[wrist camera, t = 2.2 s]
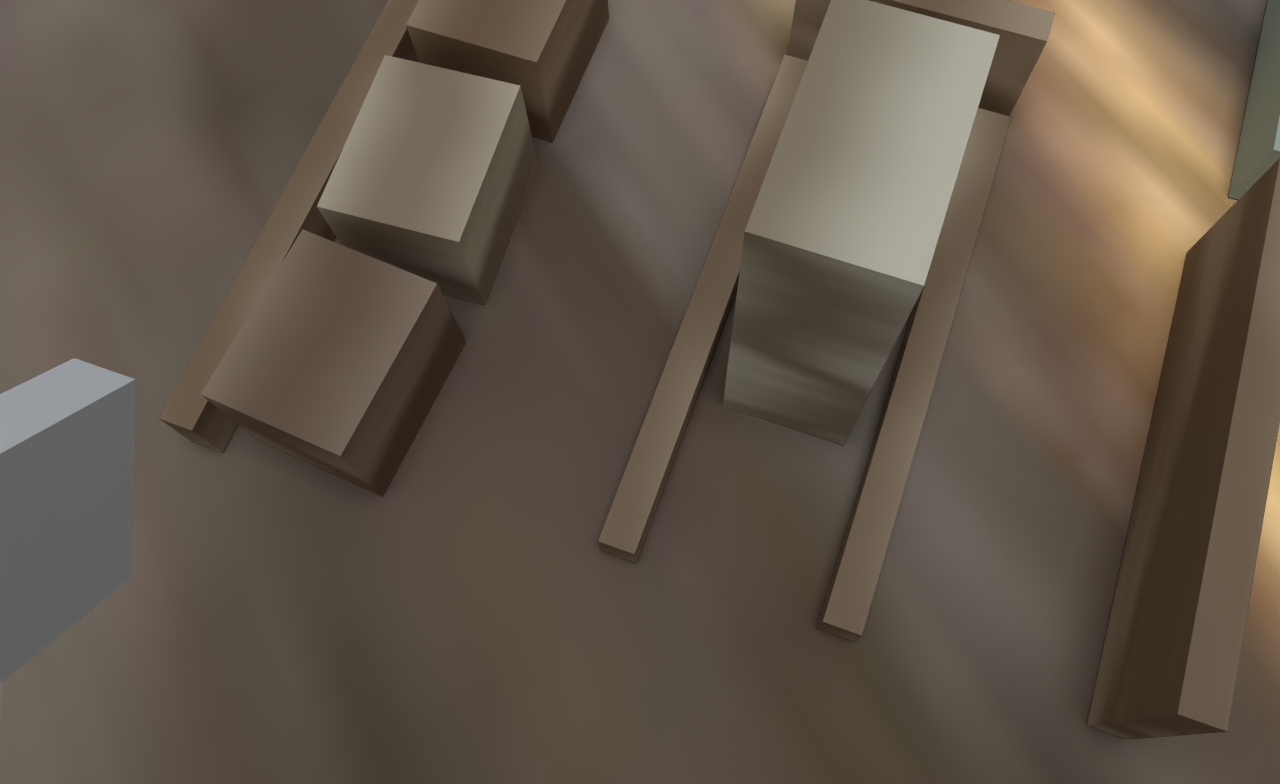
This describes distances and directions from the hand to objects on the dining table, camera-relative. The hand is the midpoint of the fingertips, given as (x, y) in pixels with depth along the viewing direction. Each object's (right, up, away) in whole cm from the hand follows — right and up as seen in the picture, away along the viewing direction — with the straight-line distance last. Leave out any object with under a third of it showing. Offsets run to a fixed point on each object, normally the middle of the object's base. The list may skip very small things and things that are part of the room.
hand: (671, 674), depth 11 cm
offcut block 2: (-6, +8, +21) cm, 23 cm away
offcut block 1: (-4, +14, +23) cm, 27 cm away
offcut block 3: (-8, +3, +19) cm, 21 cm away
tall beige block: (+5, +5, +19) cm, 20 cm away
